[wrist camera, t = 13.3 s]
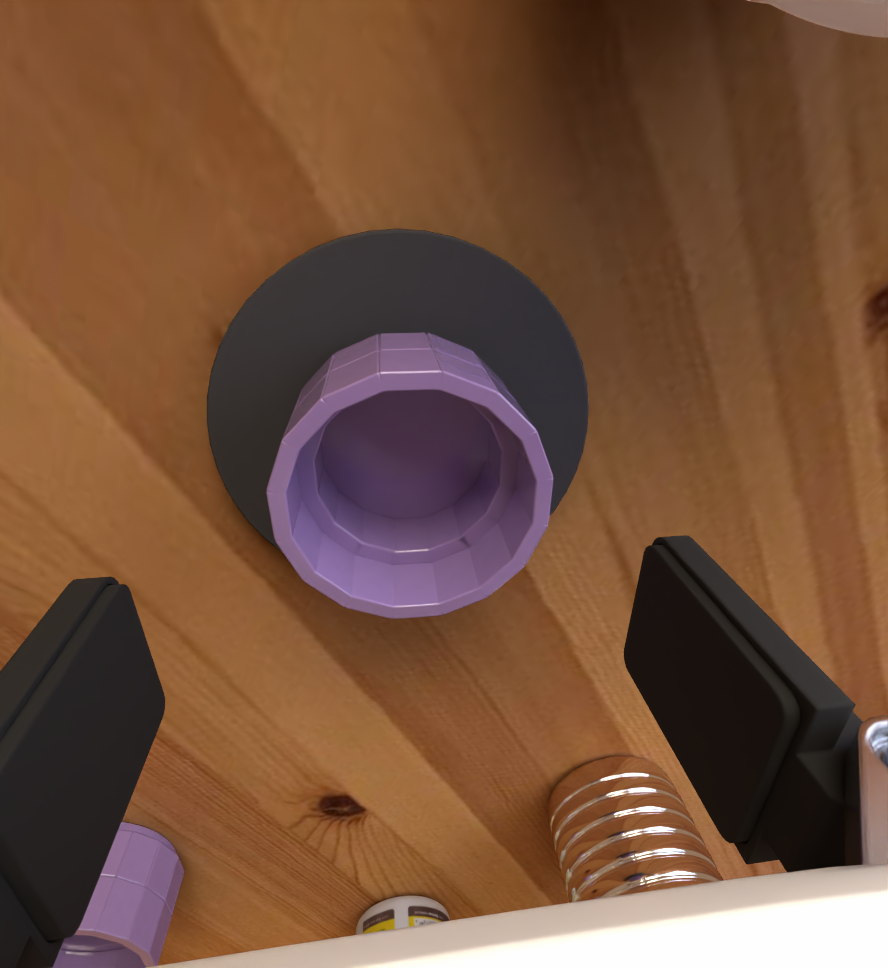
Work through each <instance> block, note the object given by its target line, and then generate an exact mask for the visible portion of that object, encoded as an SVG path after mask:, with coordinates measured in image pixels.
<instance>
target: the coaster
mask: <svg viewBox="0 0 888 968" xmlns="http://www.w3.org/2000/svg"><path fill="white" fill-rule="evenodd" d="M383 333H426V334H428V333H431V334H433V335H436V336H438V337H441V338H443V339H446V340H448V341H451V342H453V343H456V344H458V345H461V346H463V347H466V348H468V349H470V350H471V351H474V352H475V353H476V354H477V355H478V356H479V357H480V358H481V359H482V361H483V362H484V363H485V364H486V365H487V366H488V367H489V368H490V369H491V370H492V371H493V372H494V373H495V374H496V375H497V376H498V377H499V378H500V379H501V380H502V381H503V382H504V384H505V385H506V387H507V388H508V389H509V391H510V392H511V394H512V395H513V397H514V398H515V400H516V401H517V402H518V404H519V405H520V407H521V408H522V410H523V411H524V413H525V414H526V415H527V417H528V418H529V420H530V421H531V423H532V424H533V426H534V427H535V428H536V430H537V432H538V434H539V437H540V440H541V443H542V445H543V448H544V451H545V454H546V457H547V460H548V462H549V465H550V468H551V471H552V474H553V487H552V497H551V506H550V515H551V514H552V513H553V511H554V510H555V509H556V507H557V506H558V504H559V503H560V501H561V499H562V498H563V496H564V495H565V493H566V492H567V489H568V487H569V485H570V483H571V481H572V479H573V477H574V475H575V473H576V470H577V467H578V464H579V461H580V459H581V456H582V453H583V448H584V443H585V438H586V433H587V424H588V409H589V407H588V392H587V382H586V378H585V373H584V368H583V363H582V360H581V357H580V354H579V352H578V349H577V346H576V343H575V341H574V338H573V336H572V335H571V333H570V331H569V329H568V327H567V325H566V323H565V321H564V320H563V318H562V316H561V315H560V313H559V312H558V311H557V309H556V308H555V307H554V305H553V304H552V303H551V301H550V300H549V299H548V297H547V296H546V295H545V294H544V293H543V292H542V291H541V290H540V289H539V288H538V287H537V286H536V285H535V284H534V283H533V282H532V281H531V280H530V279H529V278H528V277H527V276H525V275H524V274H523V273H522V272H520V271H519V270H518V269H516V268H515V267H514V266H512V265H511V264H510V263H508V262H507V261H505V260H503V259H502V258H500V257H498V256H496V255H494V254H492V253H491V252H489V251H487V250H485V249H483V248H481V247H479V246H477V245H474V244H471V243H469V242H466V241H463V240H460V239H458V238H455V237H452V236H448V235H443V234H438V233H434V232H429V231H422V230H408V229H387V230H374V231H366V232H362V233H357V234H353V235H348V236H344V237H340V238H338V239H335V240H332V241H330V242H327V243H325V244H322V245H319V246H317V247H315V248H313V249H311V250H309V251H307V252H306V253H304V254H302V255H300V256H298V257H297V258H295V259H293V260H291V261H290V262H288V263H287V264H286V265H285V266H283V267H282V268H281V269H279V270H278V271H277V272H276V273H274V274H273V275H272V276H270V277H269V278H268V279H267V280H265V281H264V282H263V283H262V284H261V285H260V287H259V288H258V289H257V290H256V291H255V292H254V293H253V294H252V295H251V296H250V297H249V298H248V299H247V300H246V301H245V303H244V304H243V306H242V307H241V309H240V310H239V312H238V313H237V314H236V316H235V317H234V319H233V320H232V322H231V323H230V325H229V327H228V329H227V331H226V333H225V335H224V337H223V339H222V341H221V343H220V345H219V348H218V351H217V354H216V357H215V360H214V364H213V367H212V370H211V375H210V381H209V387H208V394H207V425H208V432H209V439H210V446H211V449H212V453H213V456H214V460H215V463H216V466H217V469H218V471H219V474H220V476H221V478H222V480H223V483H224V485H225V487H226V489H227V491H228V493H229V494H230V496H231V498H232V499H233V501H234V502H235V504H236V506H237V507H238V509H239V510H240V511H241V513H242V514H243V515H244V516H245V518H246V519H247V520H248V521H249V522H250V524H251V525H252V526H253V527H254V528H255V529H256V530H257V531H258V532H259V533H260V534H261V535H262V536H263V537H264V538H265V539H266V540H267V541H268V542H270V543H271V544H272V545H274V546H275V547H276V548H278V549H279V550H280V551H281V549H280V548H279V546H278V545H277V543H276V542H275V539H274V535H273V529H272V524H271V518H270V512H269V506H268V500H267V494H266V492H267V486H268V483H269V479H270V476H271V473H272V469H273V466H274V463H275V460H276V456H277V453H278V450H279V447H280V443H281V441H282V438H283V435H284V433H285V430H286V428H287V425H288V423H289V420H290V418H291V415H292V413H293V410H294V408H295V405H296V403H297V400H298V398H299V395H300V393H301V390H302V389H303V387H304V386H305V385H306V383H307V382H308V381H309V380H310V379H311V378H312V377H313V376H314V375H315V373H316V372H317V371H318V370H319V369H320V368H321V367H322V366H323V365H324V363H325V362H326V361H327V360H328V359H329V358H330V357H331V356H332V355H334V354H335V353H336V352H338V351H340V350H342V349H345V348H347V347H349V346H351V345H354V344H356V343H358V342H360V341H362V340H365V339H367V338H369V337H371V336H374V335H380V334H383ZM550 515H549V516H550Z"/></svg>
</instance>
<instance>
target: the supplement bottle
mask: <svg viewBox="0 0 888 968" xmlns="http://www.w3.org/2000/svg"><path fill="white" fill-rule="evenodd" d="M444 921H450V919H449V915H448V913H447V911H446V909H445V908H444V907H443V906H442V905H441V904H440V903H438V902H437V901H435V900H433V899H430V898H427V897H422V896H399V897H394V898H390V899H387V900H384V901H382V902H379V903H377V904H375V905H374V906H372V907H371V908H369V909H368V910H367V911H366V912H365V913H364V914H363V915H362V916H361V918H360V920H359V922H358V924H357V927H356V935H359V934H365V933H372V932H378V931H385V930H392V929H398V928H405V927H411V926H418V925H425V924H431V923H438V922H444Z"/></svg>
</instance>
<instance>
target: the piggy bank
mask: <svg viewBox="0 0 888 968" xmlns="http://www.w3.org/2000/svg"><path fill="white" fill-rule="evenodd" d="M747 1H751V2H757V3H765V4H770V5H772V6H774V7H776V8H778V9H780V10H782V11H784V12H787V13H789V14H791V15H793V16H796V17H798V18H801V19H803V20H806V21H809V22H811V23H814V24H817V25H820V26H824V27H827V28H831V29H834V30H839V31H843V32H847V33H852V34H858V35H864V36H872V37H883V38H888V0H747Z"/></svg>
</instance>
